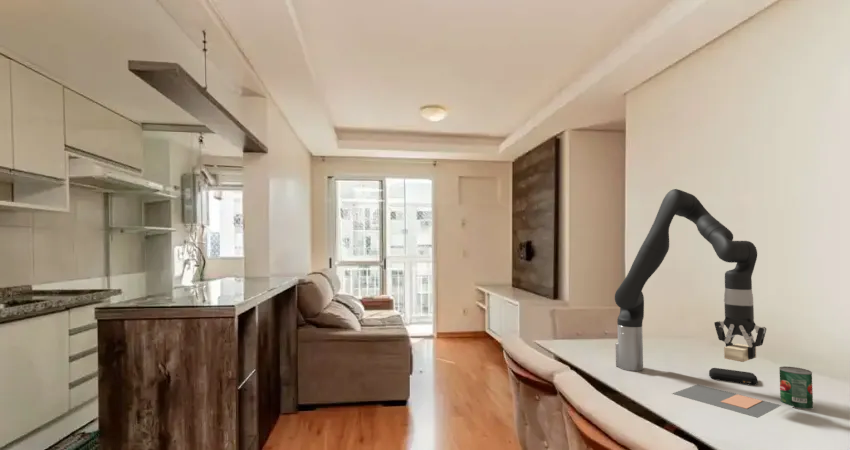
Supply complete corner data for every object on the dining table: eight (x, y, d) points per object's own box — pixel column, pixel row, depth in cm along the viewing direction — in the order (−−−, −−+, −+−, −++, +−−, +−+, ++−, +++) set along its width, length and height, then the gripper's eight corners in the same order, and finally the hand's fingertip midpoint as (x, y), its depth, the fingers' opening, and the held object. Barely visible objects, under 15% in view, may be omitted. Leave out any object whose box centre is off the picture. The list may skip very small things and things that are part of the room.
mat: (671, 395, 145) (671, 393, 145) (698, 385, 155) (698, 383, 155) (757, 419, 125) (757, 416, 125) (781, 407, 135) (781, 404, 135)
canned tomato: (773, 400, 140) (772, 366, 141) (798, 400, 140) (797, 366, 141) (793, 409, 132) (792, 373, 133) (820, 410, 132) (819, 373, 133)
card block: (738, 354, 143) (737, 343, 143) (756, 357, 139) (755, 346, 139) (724, 358, 137) (724, 347, 137) (742, 362, 133) (742, 350, 133)
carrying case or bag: (709, 380, 162) (758, 388, 153) (708, 372, 162) (758, 379, 154) (709, 373, 170) (756, 380, 162) (709, 366, 171) (756, 372, 162)
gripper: (770, 304, 135) (772, 360, 134) (719, 299, 147) (720, 350, 146) (760, 306, 131) (762, 363, 130) (708, 301, 143) (710, 353, 142)
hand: (740, 356), depth 138 cm, fingers closed on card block, 5 cm apart
